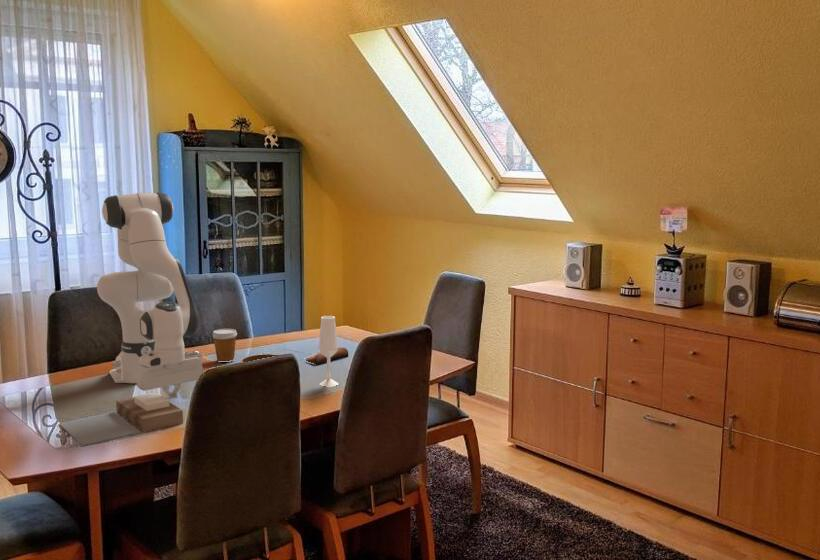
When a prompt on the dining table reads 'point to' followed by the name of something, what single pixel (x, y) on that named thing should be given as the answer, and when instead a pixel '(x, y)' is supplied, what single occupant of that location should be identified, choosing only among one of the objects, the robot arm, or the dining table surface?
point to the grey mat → (98, 428)
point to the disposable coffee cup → (225, 344)
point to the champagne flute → (328, 345)
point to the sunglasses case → (321, 358)
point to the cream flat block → (151, 401)
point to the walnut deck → (148, 415)
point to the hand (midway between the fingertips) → (172, 398)
